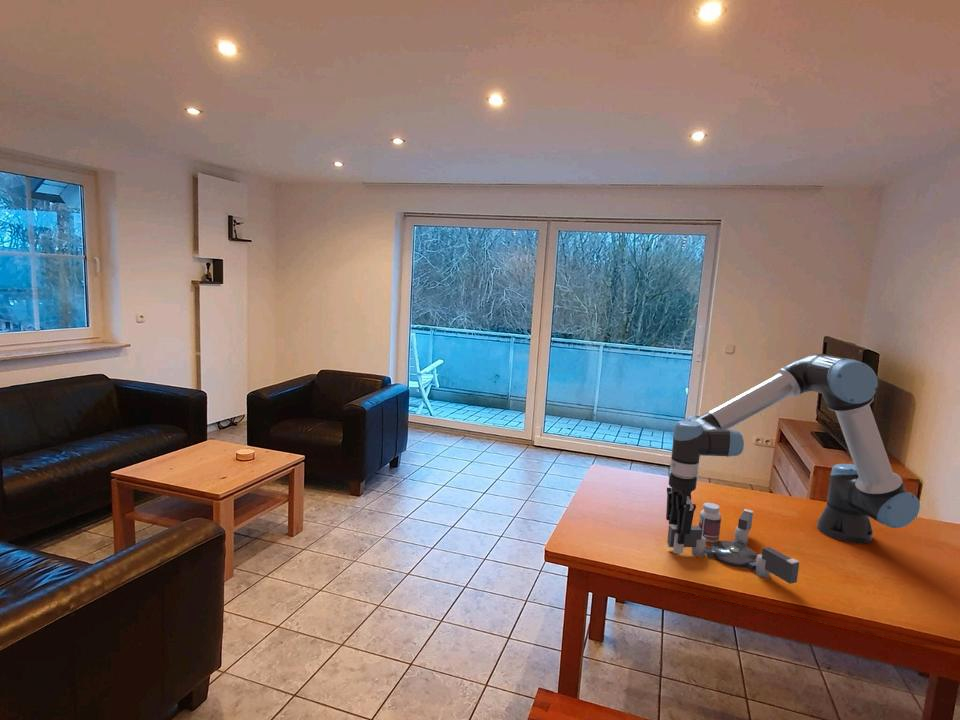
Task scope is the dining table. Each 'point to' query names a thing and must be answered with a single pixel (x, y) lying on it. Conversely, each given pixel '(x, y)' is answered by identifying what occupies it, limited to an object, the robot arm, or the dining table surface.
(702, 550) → the dark bar with dome
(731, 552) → the base
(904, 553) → the dining table surface
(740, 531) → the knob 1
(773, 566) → the grey bar white cap
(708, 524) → the pill bottle
